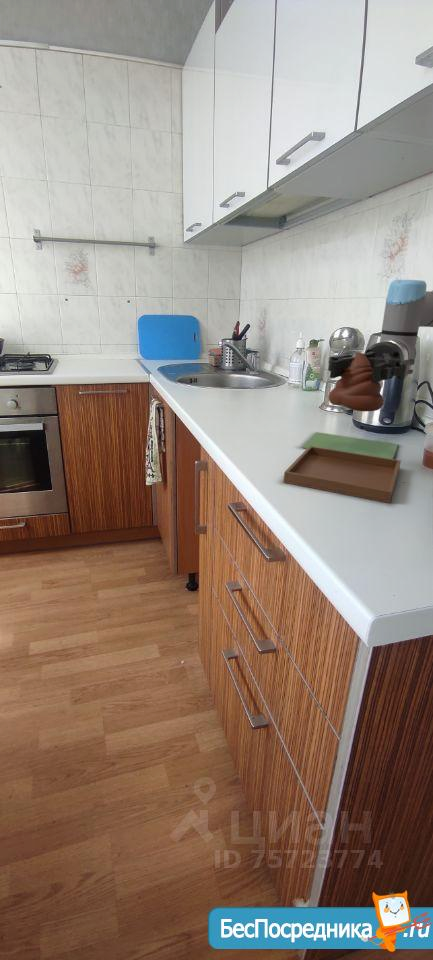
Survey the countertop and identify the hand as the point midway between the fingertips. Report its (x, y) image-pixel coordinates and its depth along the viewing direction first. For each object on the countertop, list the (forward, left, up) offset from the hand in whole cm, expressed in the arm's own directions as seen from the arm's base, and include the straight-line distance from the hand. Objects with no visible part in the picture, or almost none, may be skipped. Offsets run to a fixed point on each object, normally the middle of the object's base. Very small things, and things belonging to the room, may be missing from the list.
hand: (353, 372), depth 77 cm
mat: (+1, -18, -18) cm, 26 cm away
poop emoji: (0, -5, -7) cm, 8 cm away
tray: (-1, +1, -18) cm, 18 cm away
